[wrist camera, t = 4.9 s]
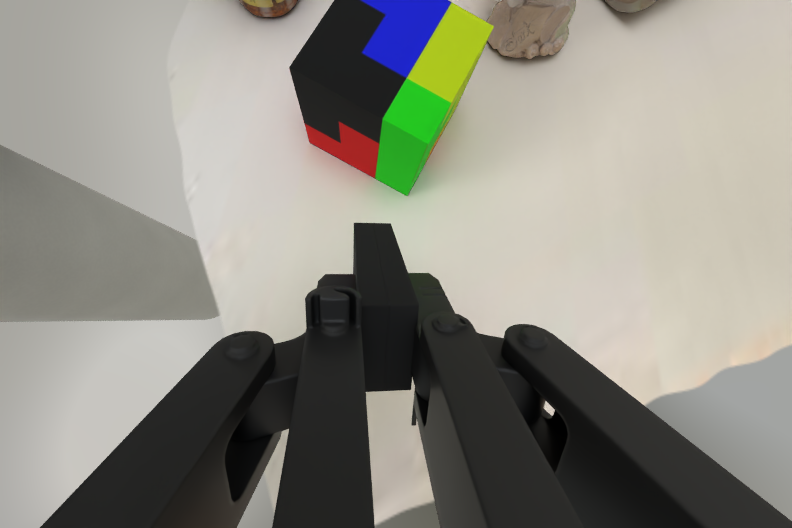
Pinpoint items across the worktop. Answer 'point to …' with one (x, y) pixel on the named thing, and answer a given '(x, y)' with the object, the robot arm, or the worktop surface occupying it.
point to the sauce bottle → (268, 7)
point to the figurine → (530, 26)
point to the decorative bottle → (630, 5)
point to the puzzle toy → (386, 81)
